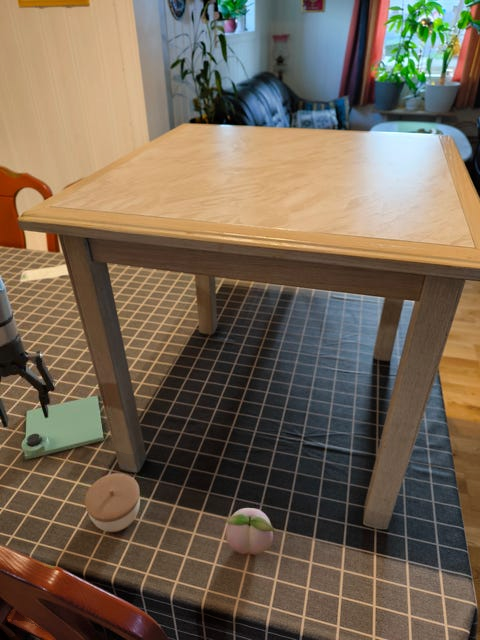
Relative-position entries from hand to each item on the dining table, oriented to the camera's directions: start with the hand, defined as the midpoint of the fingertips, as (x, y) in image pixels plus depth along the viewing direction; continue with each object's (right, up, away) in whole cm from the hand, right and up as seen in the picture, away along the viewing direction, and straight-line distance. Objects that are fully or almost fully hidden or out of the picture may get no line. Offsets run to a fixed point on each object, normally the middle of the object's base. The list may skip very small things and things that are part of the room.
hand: (26, 418), depth 102 cm
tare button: (0, -7, +4) cm, 8 cm away
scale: (+4, -5, +12) cm, 14 cm away
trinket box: (+23, -19, -8) cm, 31 cm away
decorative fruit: (+51, -23, -13) cm, 57 cm away
